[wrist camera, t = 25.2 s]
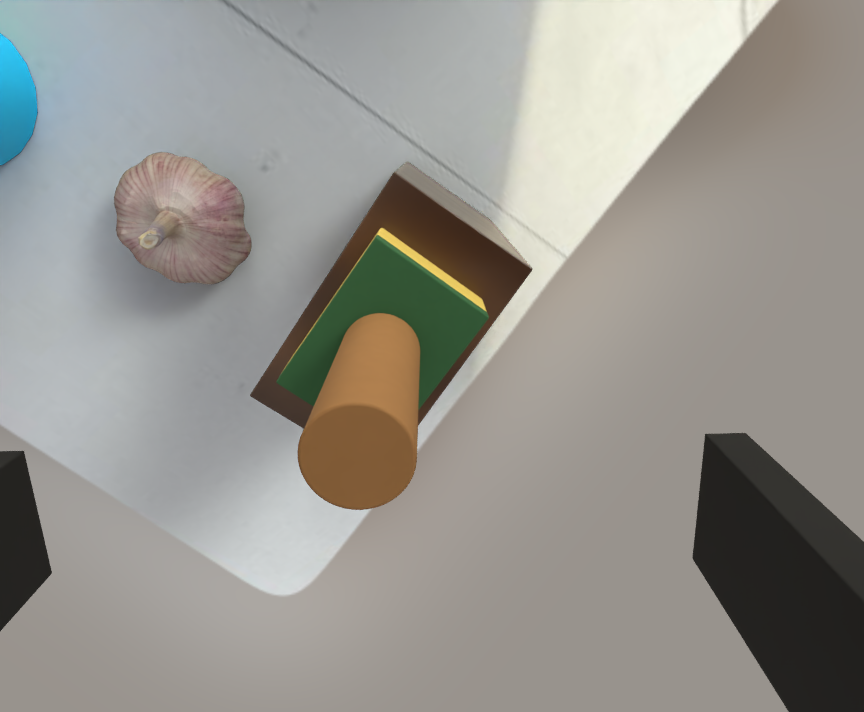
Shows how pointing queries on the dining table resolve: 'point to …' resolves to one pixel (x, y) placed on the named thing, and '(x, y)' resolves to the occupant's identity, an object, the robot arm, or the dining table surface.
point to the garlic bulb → (181, 219)
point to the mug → (15, 102)
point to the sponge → (377, 371)
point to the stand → (431, 238)
